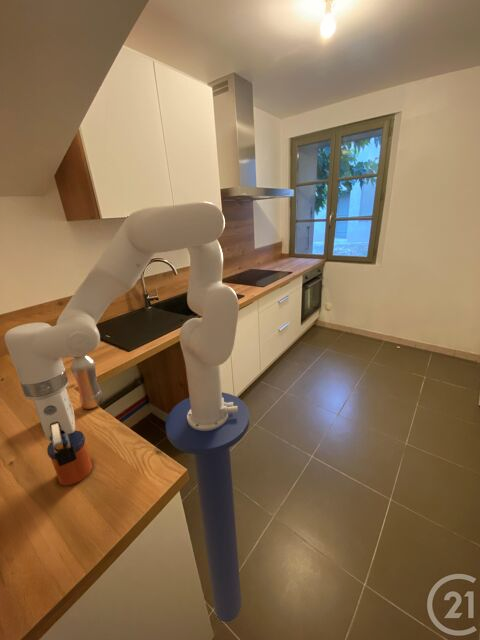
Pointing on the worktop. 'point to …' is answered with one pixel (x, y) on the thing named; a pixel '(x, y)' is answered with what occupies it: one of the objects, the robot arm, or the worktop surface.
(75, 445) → the lid
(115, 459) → the worktop surface
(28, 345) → the robot arm
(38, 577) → the worktop surface
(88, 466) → the jar
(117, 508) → the worktop surface
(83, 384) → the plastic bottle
